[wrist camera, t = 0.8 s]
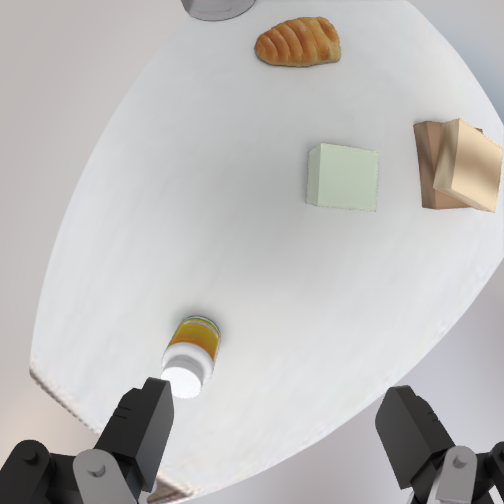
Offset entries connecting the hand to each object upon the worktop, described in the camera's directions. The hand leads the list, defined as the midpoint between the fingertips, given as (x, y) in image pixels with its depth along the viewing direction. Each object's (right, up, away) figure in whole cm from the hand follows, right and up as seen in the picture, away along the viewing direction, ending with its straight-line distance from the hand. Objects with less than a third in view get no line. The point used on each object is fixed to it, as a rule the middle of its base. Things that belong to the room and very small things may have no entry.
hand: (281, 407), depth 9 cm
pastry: (+5, +29, +17) cm, 34 cm away
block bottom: (+24, +16, +19) cm, 35 cm away
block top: (+23, +15, +16) cm, 32 cm away
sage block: (+8, +13, +20) cm, 25 cm away
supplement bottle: (-7, -5, +24) cm, 26 cm away
